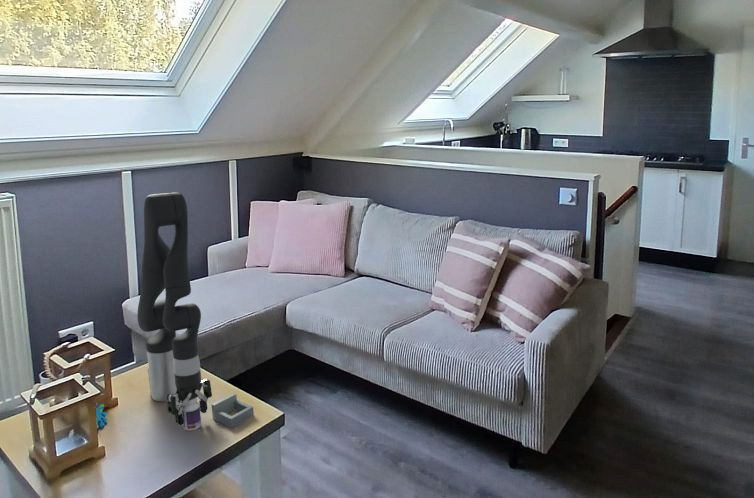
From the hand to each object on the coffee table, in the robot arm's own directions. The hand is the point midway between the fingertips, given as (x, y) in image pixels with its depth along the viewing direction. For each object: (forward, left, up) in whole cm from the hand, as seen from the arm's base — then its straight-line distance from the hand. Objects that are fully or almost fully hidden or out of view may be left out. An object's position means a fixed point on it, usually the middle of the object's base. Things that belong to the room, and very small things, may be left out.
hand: (191, 418), depth 187 cm
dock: (+6, +11, -3) cm, 13 cm away
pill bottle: (0, 0, -3) cm, 3 cm away
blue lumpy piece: (-26, -17, -3) cm, 31 cm away
